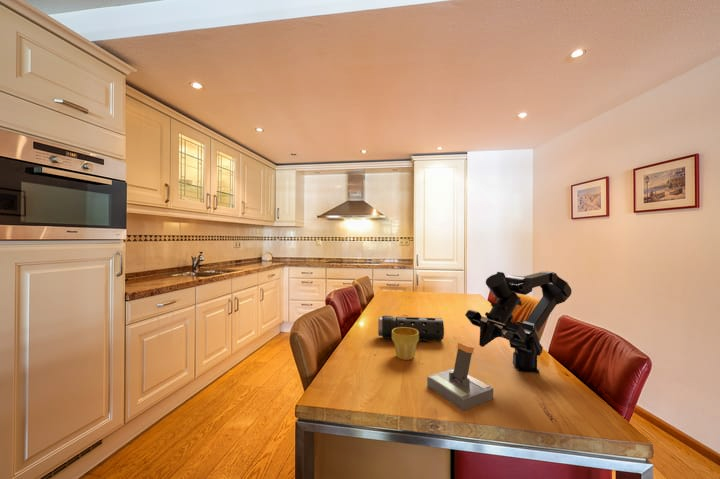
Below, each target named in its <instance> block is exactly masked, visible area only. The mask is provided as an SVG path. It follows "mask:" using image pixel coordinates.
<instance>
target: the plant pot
mask: <svg viewBox="0 0 720 479" xmlns="http://www.w3.org/2000/svg"><path fill="white" fill-rule="evenodd" d="M391 340H392V342H393V345H394V349H395V354H396V357H397V358H398V359H400V360H405V361H409V360H412V359H414V358H415V355H416V354H415V353H416V349H417V345H418V342H419V341H420V340H419V332H418V330H416V329H414V328H409V327H398V328H394V329H393V330H392V338H391Z"/></svg>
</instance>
